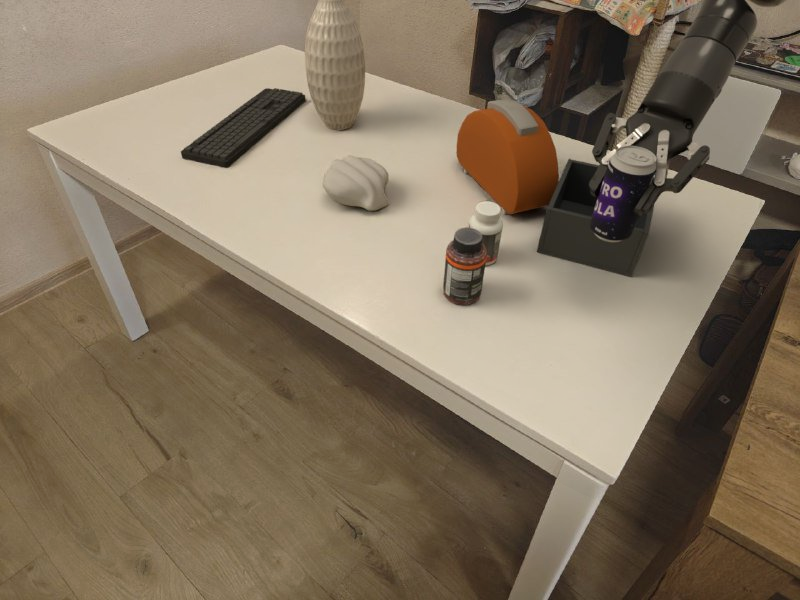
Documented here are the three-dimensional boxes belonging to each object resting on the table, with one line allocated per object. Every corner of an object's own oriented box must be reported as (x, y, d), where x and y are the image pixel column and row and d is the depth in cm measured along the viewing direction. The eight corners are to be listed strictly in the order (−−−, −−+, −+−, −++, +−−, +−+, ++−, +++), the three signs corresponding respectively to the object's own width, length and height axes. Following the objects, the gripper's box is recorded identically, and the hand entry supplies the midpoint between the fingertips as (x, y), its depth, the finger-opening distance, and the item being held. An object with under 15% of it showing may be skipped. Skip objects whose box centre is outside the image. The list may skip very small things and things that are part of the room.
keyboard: (266, 93, 138) (265, 85, 137) (306, 100, 136) (305, 92, 134) (180, 158, 114) (178, 149, 113) (227, 168, 111) (225, 159, 110)
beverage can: (596, 216, 79) (621, 139, 70) (635, 230, 76) (665, 152, 68) (581, 235, 75) (605, 157, 67) (622, 251, 73) (651, 172, 65)
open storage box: (643, 220, 100) (659, 178, 94) (631, 277, 88) (649, 233, 82) (558, 200, 104) (568, 158, 98) (536, 252, 93) (546, 208, 87)
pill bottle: (460, 261, 91) (466, 212, 84) (470, 243, 94) (477, 195, 87) (491, 270, 89) (500, 221, 82) (501, 252, 93) (509, 203, 86)
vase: (301, 130, 124) (285, -8, 105) (327, 108, 132) (317, -23, 113) (351, 141, 120) (344, 0, 101) (375, 118, 129) (373, -16, 110)
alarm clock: (553, 215, 101) (574, 130, 89) (511, 226, 98) (527, 139, 87) (490, 156, 116) (501, 78, 105) (453, 164, 114) (460, 84, 102)
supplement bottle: (452, 276, 88) (458, 218, 80) (486, 289, 86) (496, 230, 78) (435, 298, 84) (440, 239, 76) (471, 311, 82) (479, 252, 74)
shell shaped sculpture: (319, 184, 107) (316, 154, 103) (381, 177, 110) (381, 147, 105) (329, 222, 98) (326, 191, 94) (397, 212, 101) (397, 182, 96)
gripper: (630, 55, 69) (560, 173, 71) (748, 88, 62) (666, 218, 64) (636, 84, 76) (572, 192, 78) (743, 117, 69) (669, 235, 71)
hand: (615, 203), depth 71 cm, fingers closed on beverage can, 5 cm apart
